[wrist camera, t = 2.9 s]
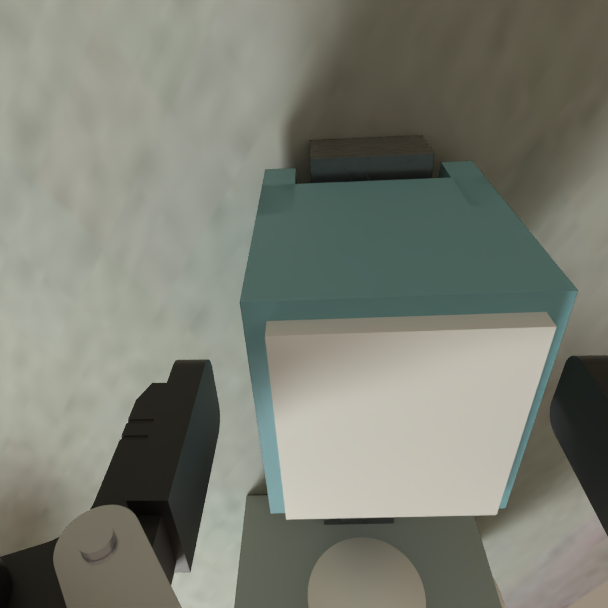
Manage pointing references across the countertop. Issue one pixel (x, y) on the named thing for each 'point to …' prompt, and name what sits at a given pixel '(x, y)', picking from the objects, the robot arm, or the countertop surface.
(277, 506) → the box
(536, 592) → the countertop surface
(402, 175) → the rail
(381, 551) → the cabinet
